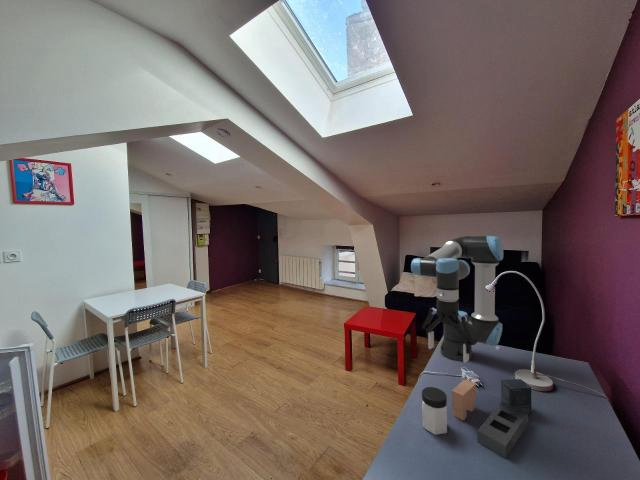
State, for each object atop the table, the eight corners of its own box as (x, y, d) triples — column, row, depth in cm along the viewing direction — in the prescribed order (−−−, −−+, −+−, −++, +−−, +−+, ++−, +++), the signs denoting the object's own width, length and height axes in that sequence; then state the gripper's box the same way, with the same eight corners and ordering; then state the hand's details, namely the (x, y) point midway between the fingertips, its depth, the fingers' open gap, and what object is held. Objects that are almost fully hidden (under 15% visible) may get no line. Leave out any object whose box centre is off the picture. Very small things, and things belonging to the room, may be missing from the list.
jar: (422, 414, 101) (421, 384, 100) (446, 419, 98) (445, 388, 97) (422, 432, 93) (421, 399, 92) (447, 438, 90) (447, 404, 89)
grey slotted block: (502, 411, 101) (502, 401, 101) (527, 423, 95) (528, 412, 94) (477, 442, 88) (477, 430, 87) (505, 458, 81) (505, 446, 81)
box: (520, 404, 104) (520, 378, 104) (531, 414, 99) (532, 387, 98) (500, 405, 105) (500, 379, 104) (510, 415, 99) (510, 388, 98)
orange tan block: (465, 403, 106) (465, 378, 106) (476, 408, 103) (476, 383, 103) (451, 416, 100) (451, 390, 99) (463, 422, 96) (462, 395, 96)
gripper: (412, 294, 108) (413, 345, 109) (478, 309, 88) (478, 371, 89) (423, 291, 113) (423, 340, 114) (488, 304, 92) (487, 363, 94)
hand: (447, 354), depth 101 cm, fingers open, 13 cm apart
